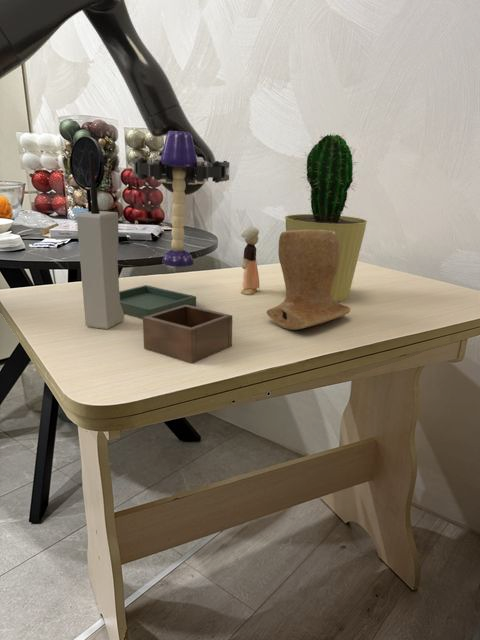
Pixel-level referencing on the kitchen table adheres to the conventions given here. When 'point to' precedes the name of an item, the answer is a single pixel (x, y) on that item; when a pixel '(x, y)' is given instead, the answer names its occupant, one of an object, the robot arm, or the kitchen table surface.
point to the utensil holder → (99, 262)
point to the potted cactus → (332, 206)
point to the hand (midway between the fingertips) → (178, 171)
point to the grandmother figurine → (250, 261)
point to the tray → (152, 300)
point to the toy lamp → (178, 192)
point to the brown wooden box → (187, 332)
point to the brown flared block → (308, 279)
